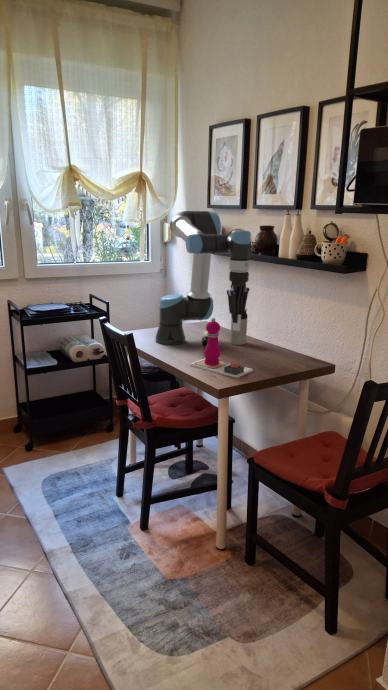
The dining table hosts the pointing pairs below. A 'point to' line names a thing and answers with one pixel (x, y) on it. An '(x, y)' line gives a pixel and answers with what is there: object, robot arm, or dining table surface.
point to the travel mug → (239, 336)
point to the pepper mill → (212, 343)
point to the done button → (234, 365)
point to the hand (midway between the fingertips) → (236, 330)
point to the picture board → (222, 368)
